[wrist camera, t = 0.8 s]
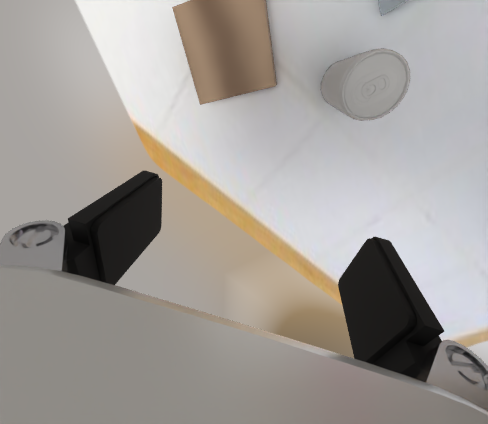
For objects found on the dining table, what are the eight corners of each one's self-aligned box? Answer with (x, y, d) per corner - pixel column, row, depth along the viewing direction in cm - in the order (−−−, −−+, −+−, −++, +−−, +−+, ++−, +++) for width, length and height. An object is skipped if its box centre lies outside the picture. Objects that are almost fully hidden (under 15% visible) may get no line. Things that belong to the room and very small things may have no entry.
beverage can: (314, 73, 26) (331, 71, 16) (357, 49, 25) (406, 30, 15) (327, 113, 28) (349, 133, 18) (368, 93, 27) (417, 103, 16)
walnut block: (264, -12, 23) (260, -27, 20) (276, 84, 28) (275, 86, 24) (187, 16, 26) (172, 7, 22) (210, 101, 30) (200, 104, 26)
